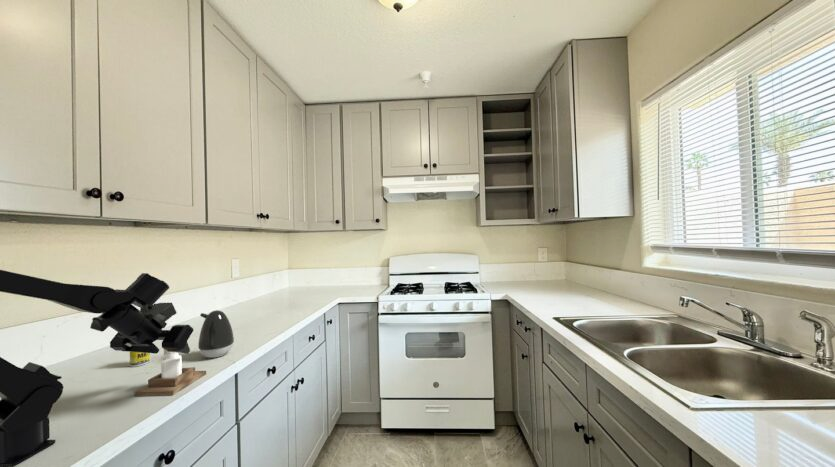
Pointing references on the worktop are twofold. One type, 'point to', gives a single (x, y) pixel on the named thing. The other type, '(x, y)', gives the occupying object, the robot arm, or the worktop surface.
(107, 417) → the worktop surface
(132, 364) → the supplement bottle
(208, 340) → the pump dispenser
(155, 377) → the stand
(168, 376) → the pepper shaker
